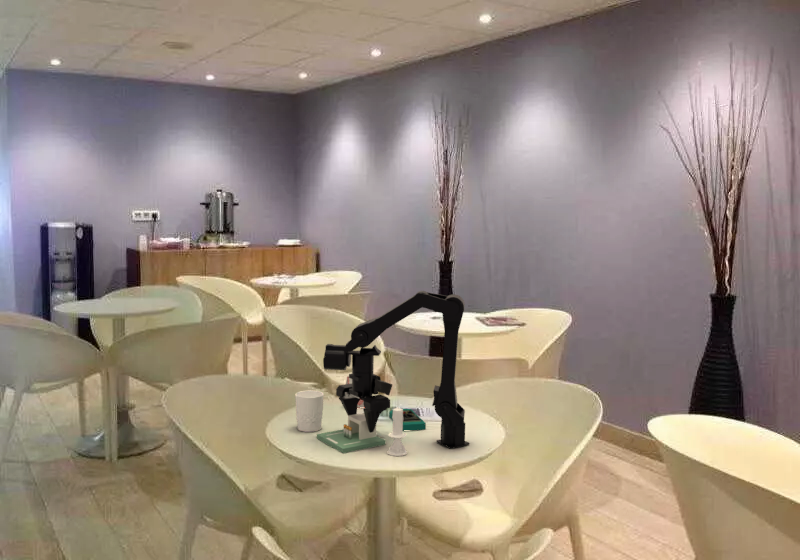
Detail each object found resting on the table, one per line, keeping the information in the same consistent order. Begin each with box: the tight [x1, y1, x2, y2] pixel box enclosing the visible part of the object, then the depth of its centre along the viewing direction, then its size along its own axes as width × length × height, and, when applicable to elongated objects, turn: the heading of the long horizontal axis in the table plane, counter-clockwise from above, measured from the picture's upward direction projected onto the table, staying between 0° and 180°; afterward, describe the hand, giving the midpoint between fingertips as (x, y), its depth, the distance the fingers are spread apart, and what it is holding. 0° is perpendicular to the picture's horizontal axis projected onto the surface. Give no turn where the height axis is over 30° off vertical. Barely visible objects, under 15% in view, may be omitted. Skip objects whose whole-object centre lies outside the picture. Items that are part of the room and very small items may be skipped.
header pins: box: [343, 423, 352, 440], centre depth 198 cm, size 3×1×3 cm, turn 35°
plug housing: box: [347, 412, 377, 440], centre depth 201 cm, size 6×5×5 cm
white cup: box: [294, 389, 325, 433], centre depth 209 cm, size 8×8×10 cm
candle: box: [386, 407, 409, 457], centre depth 190 cm, size 5×5×12 cm
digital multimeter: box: [388, 408, 427, 432], centre depth 217 cm, size 7×15×3 cm, turn 15°
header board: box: [316, 428, 387, 454], centre depth 199 cm, size 14×13×1 cm
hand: (362, 427), depth 201 cm, fingers open, 9 cm apart
